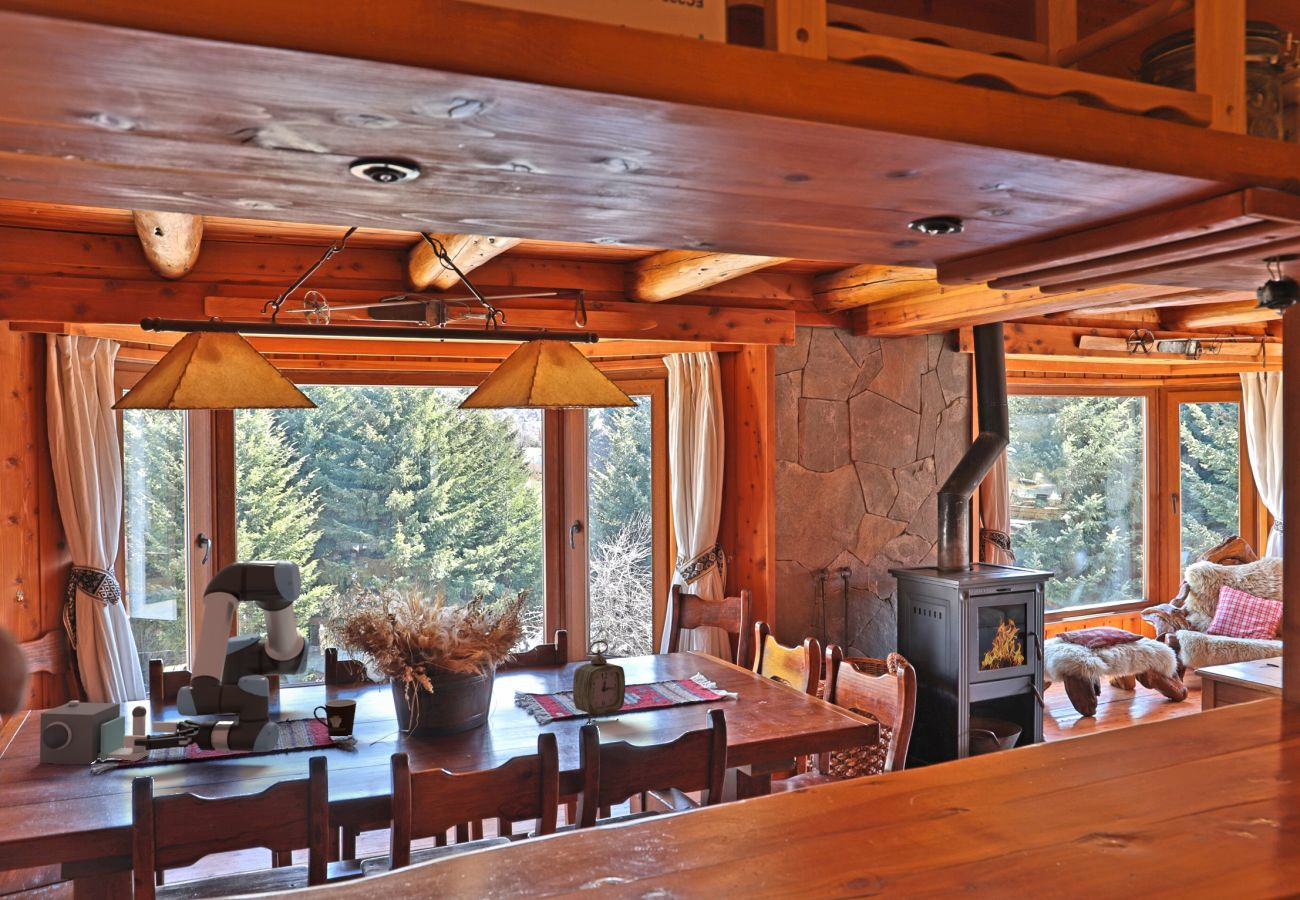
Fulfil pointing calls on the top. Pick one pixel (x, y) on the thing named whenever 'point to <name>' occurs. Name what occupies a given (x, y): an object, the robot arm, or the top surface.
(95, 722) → the camera body
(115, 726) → the battery sled
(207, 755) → the top surface
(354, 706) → the coffee mug
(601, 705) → the tabletop clock
